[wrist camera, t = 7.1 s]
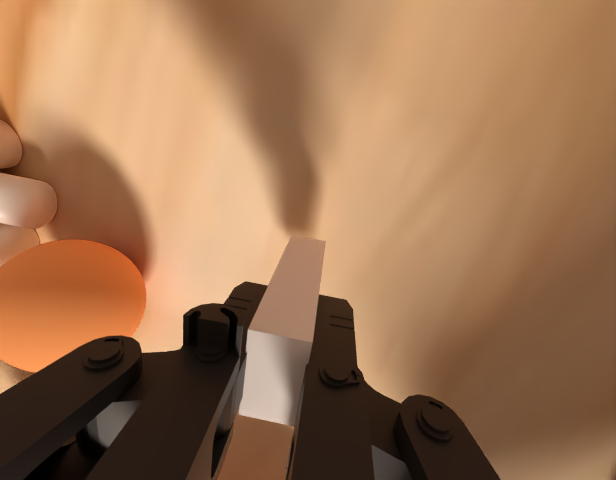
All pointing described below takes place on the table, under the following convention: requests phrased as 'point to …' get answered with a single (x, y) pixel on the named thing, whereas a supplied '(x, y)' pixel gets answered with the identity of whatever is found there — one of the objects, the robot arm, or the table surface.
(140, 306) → the ball
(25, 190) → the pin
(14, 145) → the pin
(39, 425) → the robot arm
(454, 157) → the table surface
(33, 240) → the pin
